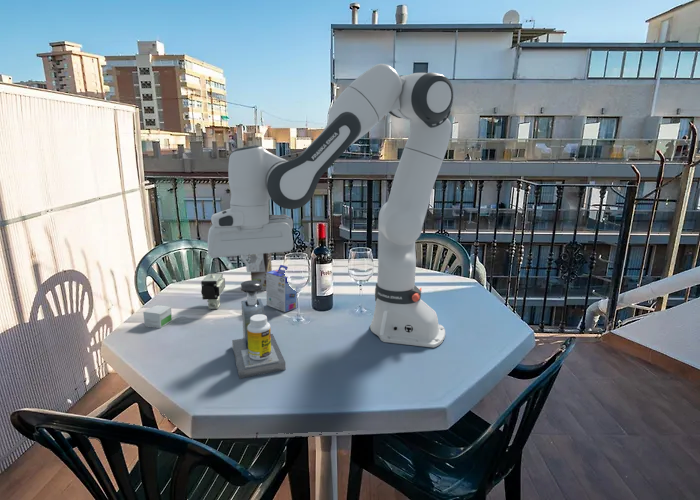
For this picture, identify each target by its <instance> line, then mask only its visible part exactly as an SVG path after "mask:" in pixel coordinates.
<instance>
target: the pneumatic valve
mask: <svg viewBox="0 0 700 500" xmlns="http://www.w3.org/2000/svg"><path fill="white" fill-rule="evenodd" d="M223 274H224V273H223V272H209V273H207V275H206V276H205V277H204V278H203V279H202V280H201V282H200V284H201V285H200V286H201V291H200V293H201V295H202V297H201V298H202V300H204V301H205V300H207V305H208V307H207V309H208V310H211V309H212V310H214V309H215V310H219V309H220V307H221V306H222V305H221V297H220V296H221V294H222V293H223V291H224V290H225V288H226V280H225V279H226V278H224V276H223Z"/></svg>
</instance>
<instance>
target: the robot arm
mask: <svg viewBox="0 0 700 500" xmlns="http://www.w3.org/2000/svg"><path fill="white" fill-rule="evenodd" d="M453 102H454V88H453V84H452V83H451V80H450V79H449V78H448V77H446V76H445V75H443V74H441V73H437V72H413V73H411V74H406V75H405V74H404V75H400V74H399V73H398V72H397V71H396V69H394V68H393V67H392V66H391V65H389V64H386V63H378V64H375V65H374V66H372V67H370V68H368V69H367V70H366V71H365V72H363V73H362V74H360V75H359V76H358V77H356V78H355V79H354V80H353V81H352V82H351V83H350V84H349V85H348V86H347V87H346V88H345V89H344V90H342V92H341V93H340V94H339V95H338V96H337V98H336V99H335V101H334V102H333V103H332V105H331V106H330V108H329V110H328V121H327V124H326V126H325V127H324V129H323V130H322V132H320V134H319V135H318V136H317V137H316V138H315V139H314V140H313V141H312V142H311V143H310V144H309V145H308V146H307V147H306V148H305V149H304V150H303V152H302V153H301V154H300V155H298V156H297V157H295V158H293V159H290V160H287V159H285V158H282V157H280V156H277V155H275V154H274V153H272V152H271V151H268V150H267V149H265V148H264V147H263V146H261V145H258V144H257V145H249V146H244V147H238V148H236V149H234V150H233V151H232V152H231V153H230V154H229V158H228V167H227V169H228V174H227V175H228V186H229V189H230V201H229V205H230V206H229V207H230V208H228V209H225V210H221V211H219V212H216V213H214V214H212V215H211V217H210V221H211V225H210V227H209V229H208V233H207V254H208V255H209V257H211V258H213V259H215V258H225V257H239V256H240V259H241V261H242V262H243V263H244V264H245V270H246V273H251V272H255V271H259V265H260V263H261V261H262V259H263V254H264V253H271V254H273V253H274V254H275V253H285V252H287V253H288V252H291V251H292V249H293V248H294V240H293V237H294V236H293V233H292V232H293V231H292V230H293V228H294V221H293V220H294V219H293V218H292V217H291V216H289V215H287V214H284V213H283V214H270V211H269V209H270V208H269V207H270V206H269V200H272V202H274V204H275V205H277V206H279V207H280V208H282V209H286V210H297V209H300V208H302V207H305V206H306V205H307V204H308V203H309V202H310V201H311V199H312V197H313V195H314V194H315V191H316V189H317V186H318V184H319V182H320V179H321V178H322V176H323V175H324V174H325V173H326V172H327V170H329V168H330V167H332V165H333V164H334V163H335V162H336V161H337V160H338V159H339V158H340V156H341V155H343V153H344V152H346V150H347V149H348V148H349V147H350V146H352V145H353V144H354V143H355V142H357V141H358V140H360V139H361V138H363V137H364V136H365V135H366V134H368V133H369V132H370V131H371V130H372V129H374V128H375V127H376V126H377V124H379V122H381V121H382V119H383V118H384V117H385V116H386V115H387V114H388V113H389V115H392V116H393V117H394V118H398V119H403V120H408V121H409V124H410V125H409V126H410V128H409V135H408V138H407V140H406V143H405V145H404V148H403V150H402V153H401V157H400V159H399V162H398V165H397V168H396V171H395V173H394V176H393V181H392V185H391V189H390V192H389V196H388V199H387V201H386V202H385V203H384V204H383V205H382V206H381V207H380V210H379V211H378V229H377V231H378V232H377V233H378V236H377V238H378V239H377V249H378V251H377V255H378V256H377V277H376V278H377V282H376V283H375V289H374V298H375V299H374V300H375V305H374V312H373V317H372V320H371V322H370V325H369V326H370V327H369V329H370V330H371V332H372V333H373V334H374V335H376V336H378V338H379V339H380V341H381V342H383V343H390V344H398V345H407V346H416V347H426V348H436V347H438V346H440V345H441V344H442V343H443V342H444V341H443V340H445V338H446V328H445V327H444V326H443V325H442V324H439V319H438V314H437V312H436V310H434V309H433V308H432V307H431V306H429V305H428V304H427V303H426V302H425V301H424V300H422V299H421V297H422V287H420V288H419V287H417V286H416V285H415V284H416V269H417V267H416V266H417V253H416V251H417V250H416V241H417V240H418V239H419V238H420V237H421V234H422V230H423V226H424V222H425V220H426V216H427V212H428V207H429V205H430V204H429V203H430V199H431V195H432V191H433V188H434V186H435V183H436V179H437V178H438V175H439V172H440V170H441V167H442V164H443V161H444V159H445V156H446V153H447V150H448V147H449V144H450V139H451V133H452V123H451V120H450V119H449V116H450V115H451V109H452V107H453ZM252 254H256V256H257V257H258V258H257V260H256V262H255V263H251V262H250V263H249V262H248V259H249V256H250V255H252Z"/></svg>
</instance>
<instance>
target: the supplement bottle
mask: <svg viewBox="0 0 700 500" xmlns="http://www.w3.org/2000/svg"><path fill="white" fill-rule="evenodd" d="M247 334H248V354H249V357H250V358H251V359H254V360H262V359H266V358H268V357H269V356H270V354H271V334H272V333H271V324H270V323H269V322H268V317H267V315H265V314H264V315H263V314H257V315H253V316H252V317H251V318H250V324H249V325H248V327H247Z"/></svg>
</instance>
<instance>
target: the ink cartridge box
mask: <svg viewBox="0 0 700 500" xmlns="http://www.w3.org/2000/svg"><path fill="white" fill-rule="evenodd" d="M284 269H285V270H287V271H288V266H286V265H283V264H280V265H279V267H278V269H274V270H273V269H272V271H270V272H267V273H266V290H265V291H266V306H268V307H270V308H273V309H276V310H279V311H281V312H283V313H287V312H289V311H292V310H296V309H297V290H296V291H295V290H293V289H292V288H291V287H290V286H289V284H288V282H287V277H286V276H285V274H284V273H285V270H284Z"/></svg>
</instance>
